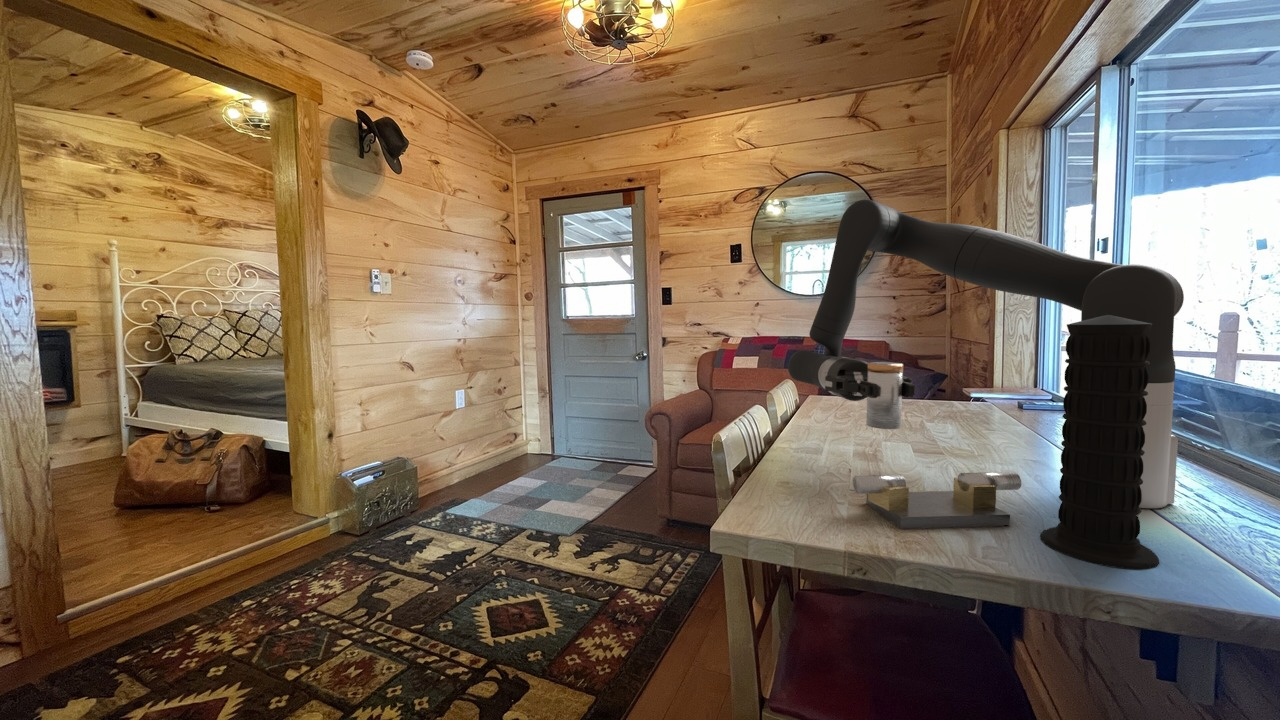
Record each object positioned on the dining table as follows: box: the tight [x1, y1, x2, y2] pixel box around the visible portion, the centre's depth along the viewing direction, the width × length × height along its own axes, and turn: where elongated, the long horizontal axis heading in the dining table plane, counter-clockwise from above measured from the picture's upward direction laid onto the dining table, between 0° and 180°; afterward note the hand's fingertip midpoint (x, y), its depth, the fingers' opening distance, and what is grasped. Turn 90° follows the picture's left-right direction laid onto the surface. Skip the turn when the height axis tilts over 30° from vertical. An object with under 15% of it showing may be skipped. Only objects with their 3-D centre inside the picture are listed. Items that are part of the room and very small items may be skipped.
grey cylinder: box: [865, 361, 904, 430], centre depth 80 cm, size 5×5×10 cm
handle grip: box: [1039, 315, 1161, 570], centre depth 56 cm, size 10×26×10 cm
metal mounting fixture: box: [852, 471, 1022, 530], centre depth 67 cm, size 22×9×6 cm, turn 91°
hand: (893, 391), depth 77 cm, fingers closed on grey cylinder, 5 cm apart
